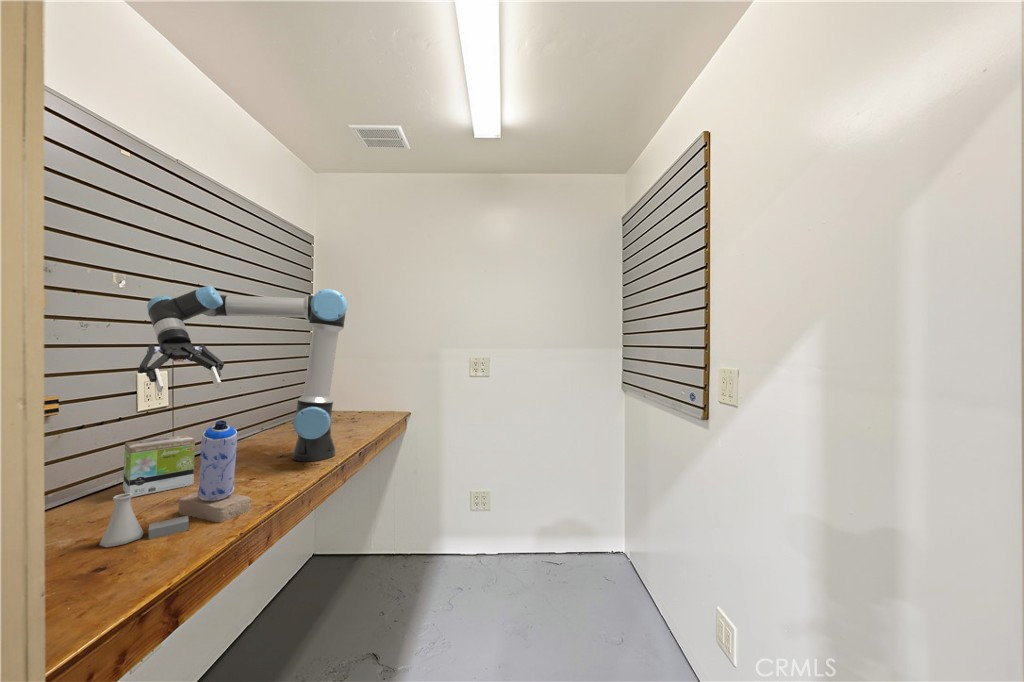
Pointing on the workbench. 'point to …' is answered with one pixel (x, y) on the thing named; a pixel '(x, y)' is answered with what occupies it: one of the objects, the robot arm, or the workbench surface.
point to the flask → (122, 523)
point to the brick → (214, 507)
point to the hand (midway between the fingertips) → (191, 387)
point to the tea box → (158, 464)
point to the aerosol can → (217, 462)
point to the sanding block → (168, 527)
